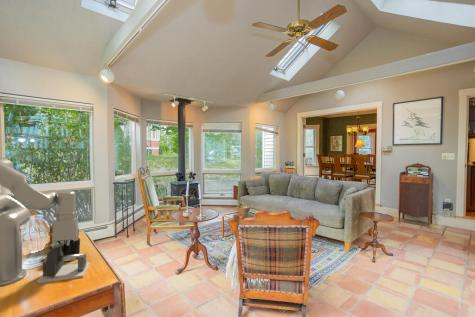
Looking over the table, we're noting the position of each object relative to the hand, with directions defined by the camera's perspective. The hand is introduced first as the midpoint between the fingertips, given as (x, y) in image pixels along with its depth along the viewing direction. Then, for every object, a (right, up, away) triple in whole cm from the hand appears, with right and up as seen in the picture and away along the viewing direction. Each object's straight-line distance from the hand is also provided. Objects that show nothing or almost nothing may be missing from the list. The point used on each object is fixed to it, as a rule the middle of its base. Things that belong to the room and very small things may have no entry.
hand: (66, 252), depth 116 cm
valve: (-21, -8, +20) cm, 30 cm away
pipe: (0, -10, -1) cm, 10 cm away
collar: (-3, -8, -2) cm, 9 cm away
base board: (0, -10, -1) cm, 10 cm away
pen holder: (-8, -9, +14) cm, 19 cm away
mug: (-27, -8, +31) cm, 42 cm away
